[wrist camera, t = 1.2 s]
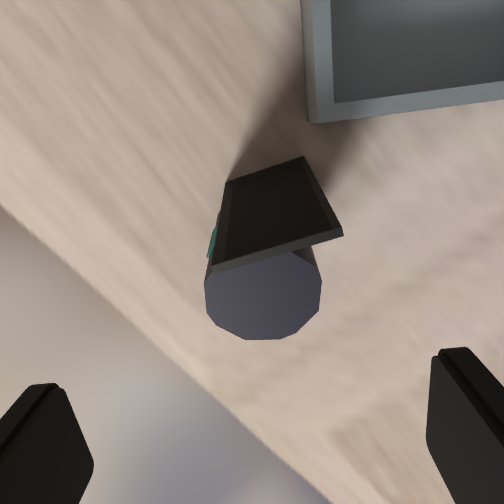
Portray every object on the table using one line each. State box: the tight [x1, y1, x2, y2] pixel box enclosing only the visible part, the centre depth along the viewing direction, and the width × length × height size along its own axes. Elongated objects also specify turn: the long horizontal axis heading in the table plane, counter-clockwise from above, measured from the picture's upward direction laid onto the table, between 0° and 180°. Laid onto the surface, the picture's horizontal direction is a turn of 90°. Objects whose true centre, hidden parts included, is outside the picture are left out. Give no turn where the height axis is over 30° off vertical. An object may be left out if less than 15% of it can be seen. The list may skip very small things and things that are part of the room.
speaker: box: [204, 156, 344, 340], centre depth 19 cm, size 8×6×10 cm
